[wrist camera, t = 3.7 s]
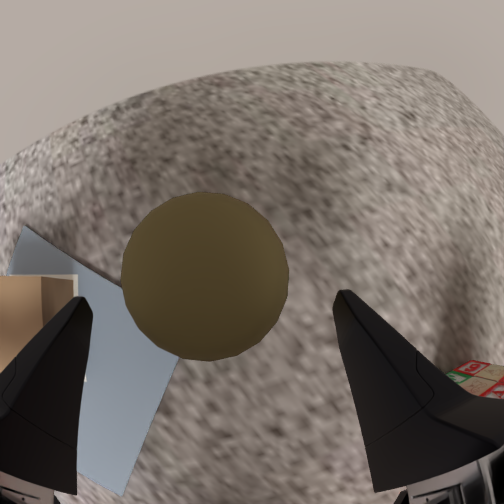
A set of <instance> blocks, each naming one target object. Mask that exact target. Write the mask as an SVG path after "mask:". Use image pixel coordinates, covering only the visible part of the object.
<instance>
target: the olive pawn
mask: <svg viewBox="0 0 504 504" xmlns="http://www.w3.org/2000/svg"><path fill="white" fill-rule="evenodd" d="M288 280H289V268H288V264H287V260H286V256H285V252H284V248H283V244H282V242H281V240H280V239H279V237H278V236H277V234H276V233H275V231H274V229H273V228H272V226H271V225H270V223H269V221H268V220H267V219H265V218H264V217H263V216H262V215H261V214H260V213H258V212H257V211H256V210H255V209H254V208H252V207H251V206H250V205H249V204H247V203H245V202H242V201H240V200H238V199H235V198H233V197H230V196H228V195H225V194H219V193H206V192H196V193H191V194H187V195H183V196H179V197H175V198H172V199H170V200H169V201H167V202H165V203H164V204H162V205H160V206H159V207H157V208H155V209H154V210H152V211H151V212H150V213H149V214H148V215H147V216H146V217H145V218H144V219H143V221H142V222H141V223H140V224H139V225H138V226H137V227H136V229H135V230H134V231H133V234H132V236H131V238H130V240H129V242H128V245H127V247H126V249H125V252H124V254H123V262H122V271H121V285H122V290H123V295H124V300H125V305H126V307H127V309H128V311H129V313H130V315H131V317H132V318H133V320H134V322H135V324H136V325H137V327H138V329H139V330H140V331H141V332H142V333H143V334H144V335H145V336H146V337H147V338H149V339H150V340H151V341H152V342H153V343H154V344H155V345H156V346H157V347H159V348H161V349H163V350H165V351H167V352H169V353H171V354H174V355H176V356H178V357H180V358H182V359H190V360H199V361H215V360H219V359H224V358H228V357H233V356H237V355H239V354H241V353H242V352H244V351H246V350H247V349H249V348H251V347H252V346H254V345H256V344H257V343H259V342H260V341H261V340H262V339H263V338H264V337H265V335H266V334H267V333H268V332H269V331H270V330H271V328H272V327H273V326H274V325H275V324H276V322H277V321H278V319H279V316H280V314H281V311H282V309H283V306H284V304H285V301H286V299H287V295H288Z"/></svg>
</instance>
